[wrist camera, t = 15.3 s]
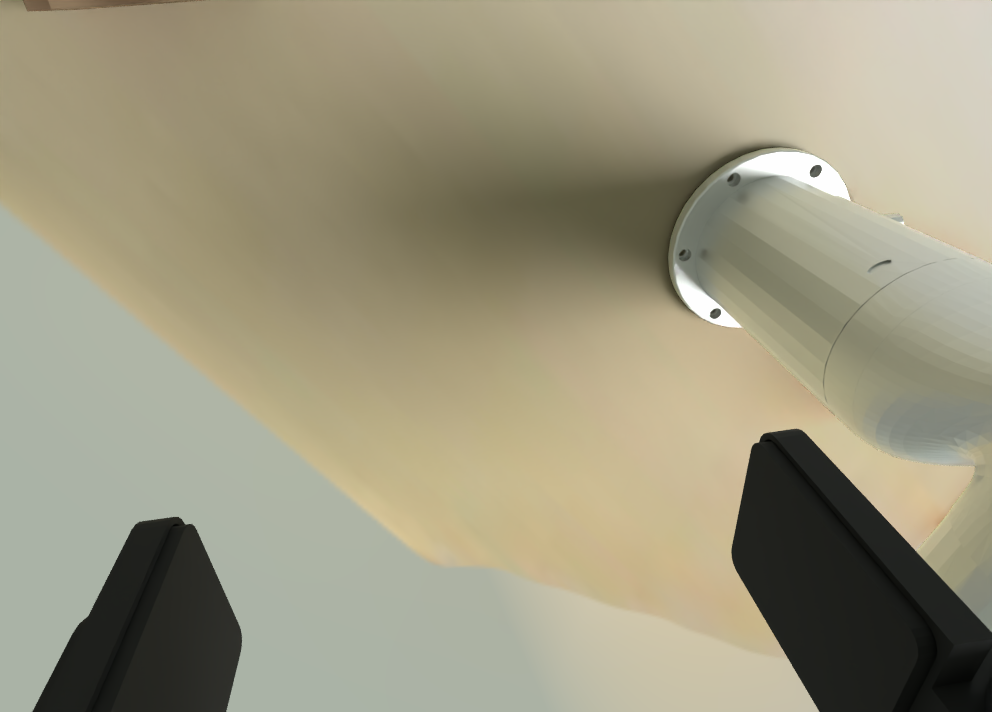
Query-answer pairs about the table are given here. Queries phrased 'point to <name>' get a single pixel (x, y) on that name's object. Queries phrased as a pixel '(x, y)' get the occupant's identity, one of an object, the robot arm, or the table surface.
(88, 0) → the rack
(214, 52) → the table surface
